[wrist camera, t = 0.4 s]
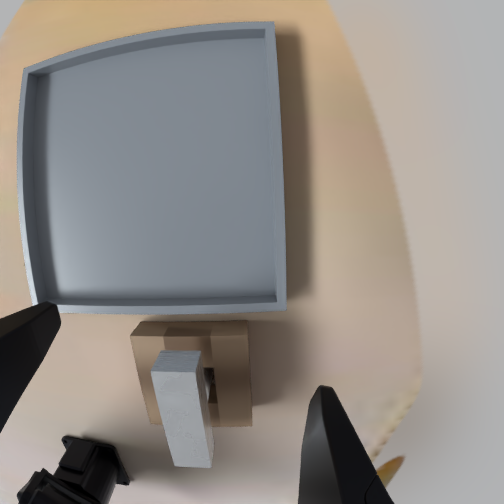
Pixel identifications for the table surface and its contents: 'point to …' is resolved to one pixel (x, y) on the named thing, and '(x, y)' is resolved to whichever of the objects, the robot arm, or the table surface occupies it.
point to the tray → (155, 174)
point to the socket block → (213, 355)
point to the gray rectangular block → (185, 406)
